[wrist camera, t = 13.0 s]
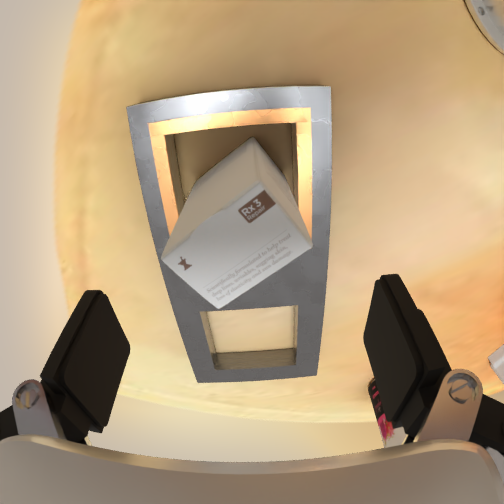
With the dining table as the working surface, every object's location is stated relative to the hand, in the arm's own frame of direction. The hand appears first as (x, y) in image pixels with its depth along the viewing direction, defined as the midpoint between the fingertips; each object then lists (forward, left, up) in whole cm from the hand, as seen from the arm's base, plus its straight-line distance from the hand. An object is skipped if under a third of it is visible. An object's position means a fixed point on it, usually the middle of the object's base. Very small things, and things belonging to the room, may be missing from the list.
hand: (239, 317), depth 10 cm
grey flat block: (+8, -1, -16) cm, 18 cm away
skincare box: (0, 0, -16) cm, 16 cm away
